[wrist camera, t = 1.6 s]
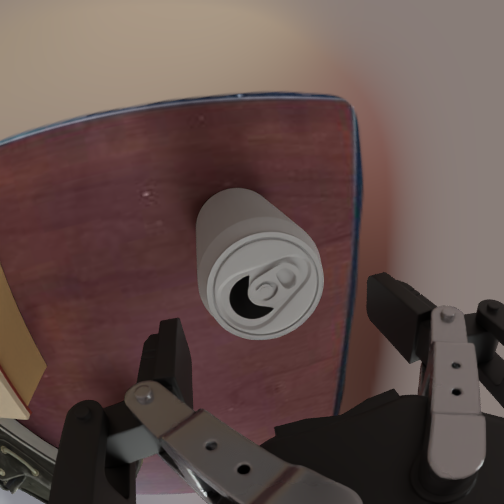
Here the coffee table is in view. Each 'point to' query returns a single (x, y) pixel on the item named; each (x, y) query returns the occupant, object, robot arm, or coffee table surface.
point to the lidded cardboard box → (16, 358)
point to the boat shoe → (25, 461)
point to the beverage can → (255, 266)
